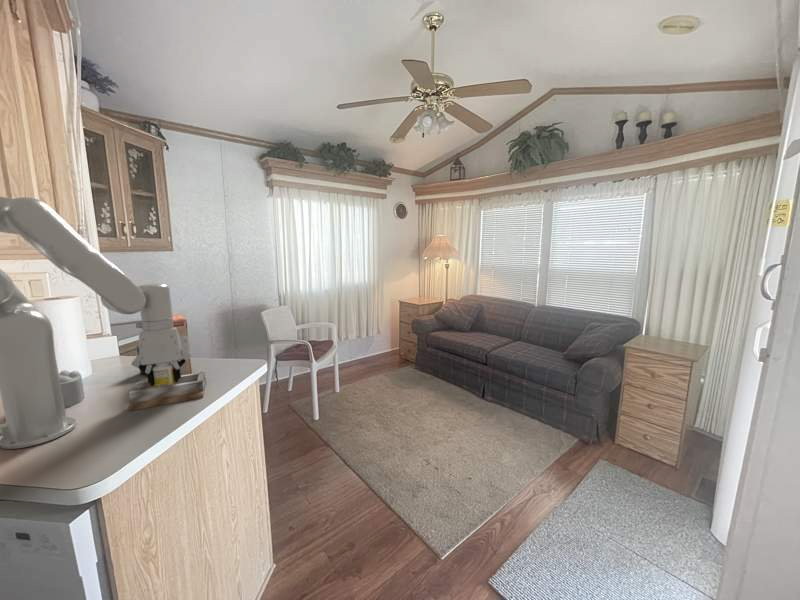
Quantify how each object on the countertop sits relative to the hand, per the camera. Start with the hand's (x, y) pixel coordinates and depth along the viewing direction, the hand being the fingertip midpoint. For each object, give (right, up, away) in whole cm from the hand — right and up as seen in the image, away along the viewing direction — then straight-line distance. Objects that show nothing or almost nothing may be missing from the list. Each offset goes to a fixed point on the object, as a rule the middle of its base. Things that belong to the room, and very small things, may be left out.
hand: (165, 382), depth 101 cm
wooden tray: (+1, -4, +1) cm, 5 cm away
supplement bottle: (0, -2, 0) cm, 2 cm away
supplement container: (-21, -2, +21) cm, 30 cm away
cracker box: (-9, -2, +21) cm, 23 cm away
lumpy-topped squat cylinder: (-30, -6, -2) cm, 30 cm away
